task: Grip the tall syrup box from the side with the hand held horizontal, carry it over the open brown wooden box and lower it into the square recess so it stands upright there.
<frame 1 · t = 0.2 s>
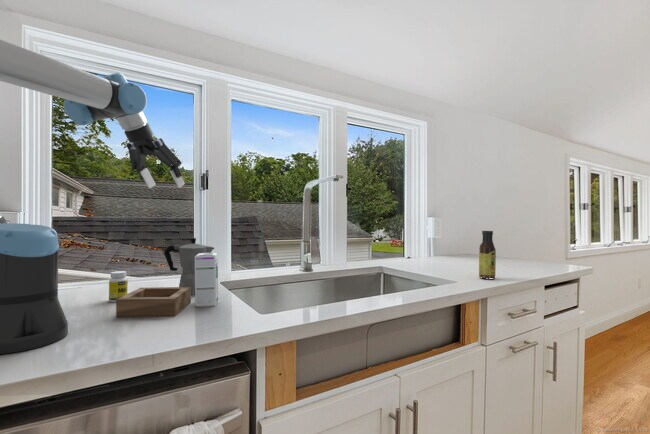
hand: (166, 186, 119), 35 cm above the counter, tool tilted 35°, fingers open, 13 cm apart
syrup box: (206, 304, 100), on the counter
open brown wooden box: (156, 309, 94), on the counter
supplement bottle: (118, 301, 103), on the counter
coffeepot: (189, 293, 114), on the counter
sauce bottle: (487, 279, 144), on the counter
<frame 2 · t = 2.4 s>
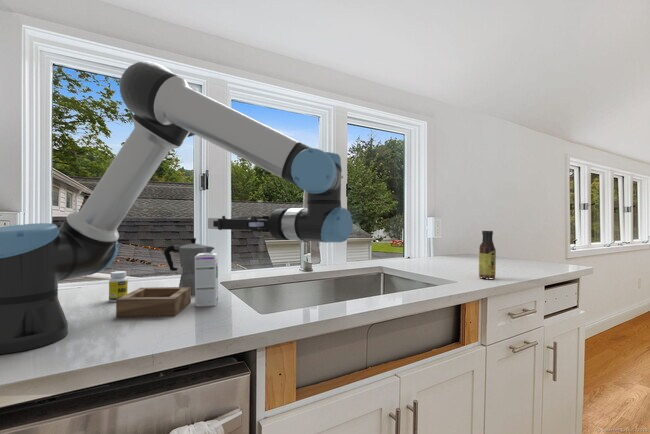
hand: (230, 222, 94), 24 cm above the counter, tool horizontal, fingers open, 13 cm apart
nothing on the counter moved.
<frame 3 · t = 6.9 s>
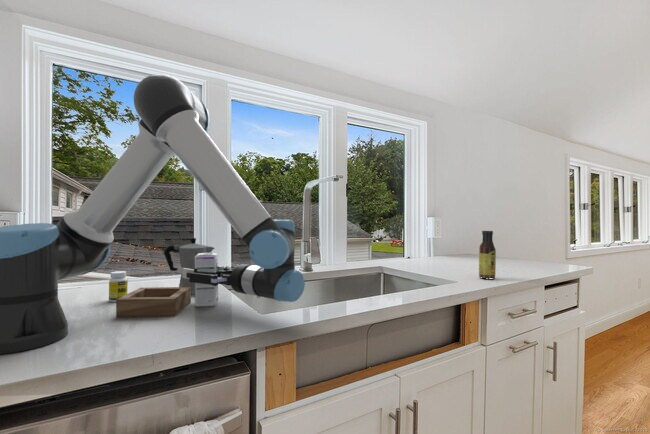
hand: (196, 270, 103), 9 cm above the counter, tool horizontal, fingers closed on syrup box, 8 cm apart
syrup box: (206, 304, 100), on the counter, touching gripper
everything else where it was.
when the fingers open (11 cm above the counter, at t = 11.4 s): syrup box drops 1 cm, resting on open brown wooden box.
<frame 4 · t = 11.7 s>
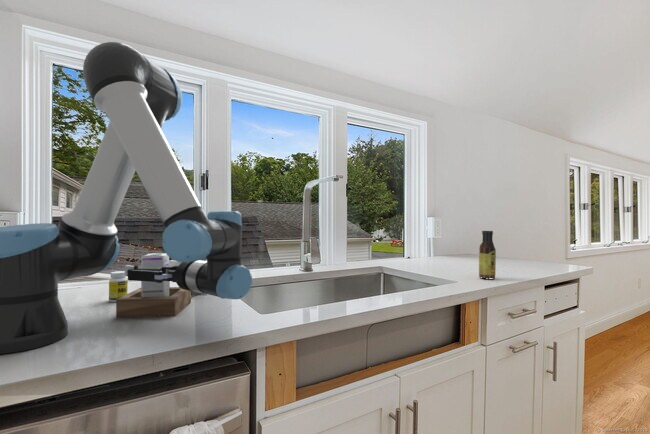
hand: (149, 267, 96), 11 cm above the counter, tool horizontal, fingers open, 11 cm apart
syrup box: (155, 308, 93), resting on open brown wooden box
everything else where it was.
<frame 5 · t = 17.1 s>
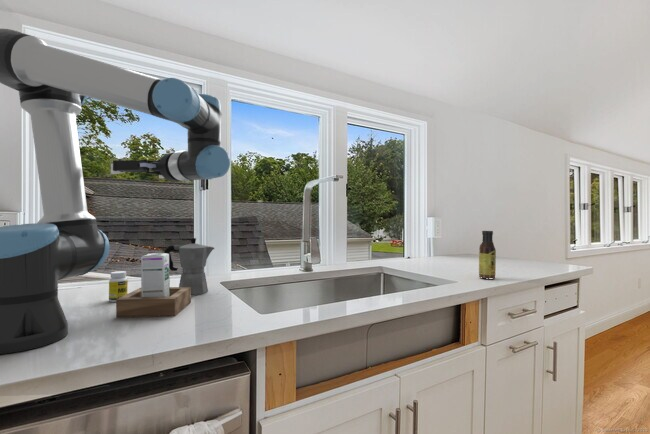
hand: (137, 171, 101), 38 cm above the counter, tool horizontal, fingers open, 13 cm apart
nothing on the counter moved.
at the end: syrup box 0.3 cm off-centre on the open brown wooden box, point 0.3 cm above the open brown wooden box's base; syrup box tilted 0°; the gripper is holding nothing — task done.
